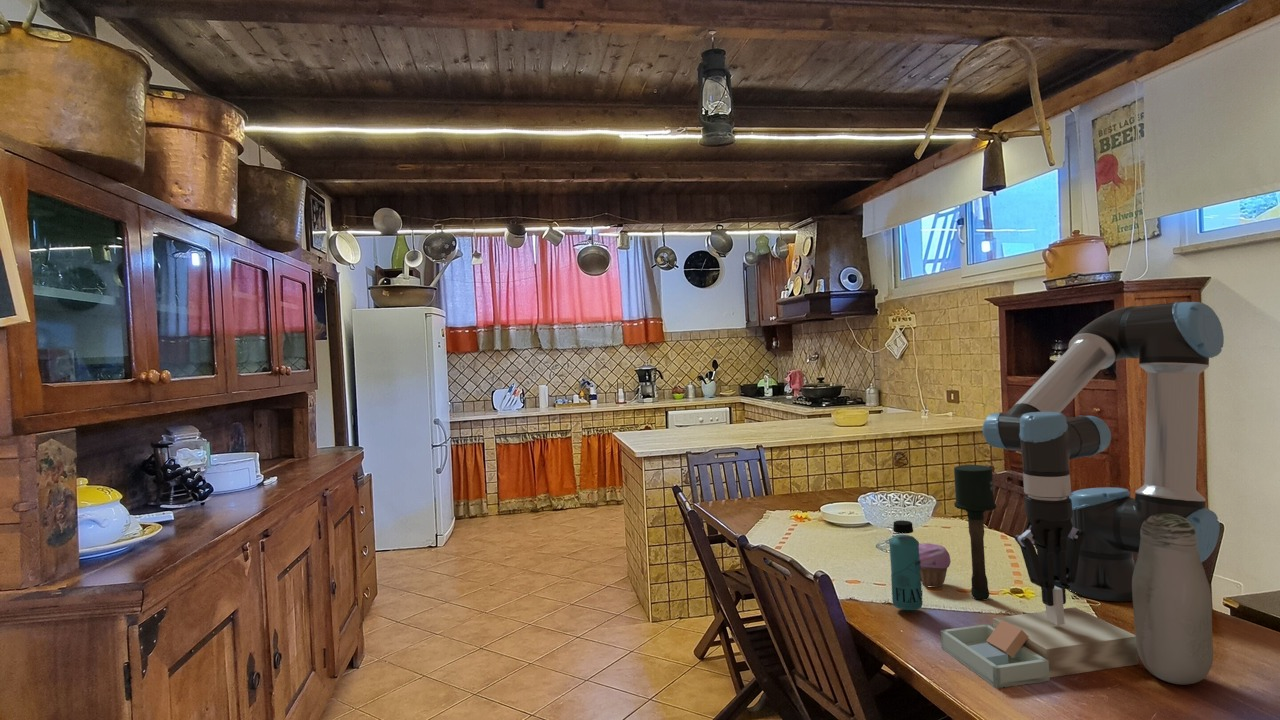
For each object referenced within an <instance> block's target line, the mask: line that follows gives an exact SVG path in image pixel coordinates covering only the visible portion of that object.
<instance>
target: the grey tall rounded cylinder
mask: <svg viewBox="0 0 1280 720" xmlns="http://www.w3.org/2000/svg"><path fill="white" fill-rule="evenodd" d="M1140 536H1141V540H1140V546H1139V553H1137V559H1136V560H1135V561H1136V562H1135V567H1134V572H1133V577H1132V598H1133V601H1132V607H1133V622H1134V633H1135V634H1134V635H1135V638H1136V646H1137V650H1138V657H1139V659H1140V661H1141V663H1142V664H1143V666H1144V667H1145V668H1146V670H1147V671H1148V672H1149V673H1150V674H1151V675H1153V676H1154V677H1156V678H1158V679H1160V680H1161V681H1164V682H1167V683H1170V684H1175V685H1183V686H1185V685H1191V684H1196V683H1199V682H1200V681H1201V682H1202V680H1204V678H1206V677H1207V676H1208V674H1209V673H1210V671H1211V669H1212V666H1213V661H1214V643H1213V642H1214V640H1213V609H1212V605H1213V604H1212V593H1211V587H1210V584H1209V580H1208V577H1207V575H1206V571H1205V569H1204V566H1203V562H1201V560H1200V556H1199V550H1198V543H1197V535H1196V532H1195V529H1194V527H1193V526H1192V524H1191V523H1190V522H1189V521H1188V520H1187V519H1185V518H1183V517H1181V516H1179V515H1176V514H1157V515H1153V516H1150V517H1148V518H1147V519H1146V520H1145V521H1144V522H1143V524H1142V526H1141V530H1140Z"/></svg>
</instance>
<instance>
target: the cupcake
mask: <svg viewBox="0 0 1280 720" xmlns="http://www.w3.org/2000/svg"><path fill="white" fill-rule="evenodd" d="M950 555H951V554H950V553H949V552H948V550H947V548H946V547H945V546H943V545H942V544H935V543H929V542H927V543H923V542H922V543H919V556H920V559H921V562H920V566H921V567H920V568H921V569H920V572H921V578H922V579H921V580H922V581H921V584H923V585H924V587H926V586H937V587H941V586H942V585H943V584H944V583H945V580H946V577H947V572H948V568H949V567H950V565H951V562H952V561H951V556H950Z"/></svg>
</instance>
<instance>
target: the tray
mask: <svg viewBox="0 0 1280 720" xmlns="http://www.w3.org/2000/svg"><path fill="white" fill-rule="evenodd" d="M994 630H995V628H993V626H992V625H990V624H988V623H987V624H986V623H985V624H977V625H971V626H963V627H957V628H955V627H954V628H949V629H948V628H947V629H941V630H940V646H941V649H942V651H943V650H944V651H945V652H946V653H947V654H949V655H950V656H951V657H952V658H954V659H955V660H957V661H958V662H960V663H961V664H962V665H964V666H965V667H967V668H968V669H969V670H971V671H972V672H974V674H976V675H977V676H979V677H980V678H982V680H984V681H985V682H987V683H988V684H990V685H991V686H992V687H994V688H995V689H998V688H999V689H1004V688H1003V687H1005V688H1010V686H1012V687H1018V685H1019V686H1025V685H1029V684H1038V683H1044V682H1050V681H1051V679H1050V678H1051V677H1049V661H1048V660H1046V659H1045V658H1043V657H1041V656H1040V655H1038V654H1036V653H1035V652H1033V651H1031V650H1030V649H1028V648H1026V647H1025V646H1023V645H1022V647H1021V648H1020V649H1019V651H1018V652H1017V653H1016V655H1015V656H1014V657H1013V659H1012V658H1011V657H1009V656H1008V664H1005V665H998V666H997V665H995V664H994V663H992V662H991V661H989V660H988V659H986V658H985V657H983V656H982V655H980V654H979V653H977V652H976V651H975V650H973V649H972V648H970V647H969V646H970V645H976V644H982V643H987V641H986V640H987V639H988V638H989V636H990V635H991V634H992V632H993V631H994Z"/></svg>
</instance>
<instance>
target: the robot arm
mask: <svg viewBox="0 0 1280 720" xmlns="http://www.w3.org/2000/svg"><path fill="white" fill-rule="evenodd" d="M1224 336H1225V335H1224V329H1223V326H1222V323H1221V320H1220V319H1219V316H1218V315H1217V313H1216V312H1215V310H1214V309H1213V308H1212V307H1210V306H1209V304H1206V303H1204V302H1200V301H1199V302H1198V301H1184V302H1183V301H1175V302H1169V303H1167V302H1166V303H1158V304H1157V303H1156V304H1148V305H1137V306H1134V305H1132V306H1125V307H1124V306H1123V307H1119V308H1116V309H1113V310H1111V311H1109V312H1107V313H1105V314H1102V315H1101V316H1099V317H1096V318H1095V319H1094V320H1092V321H1091V322H1089V323H1088V324H1086V325H1085V326H1084V327H1082V328H1081V329H1080V330H1079V331H1078V332H1077V333H1076V334H1075V335H1074V336H1073V337H1072V338H1071V339H1070V340H1069V342H1068V348H1067V350H1066V351H1065V352H1064V353H1063V354H1062V355H1061V356H1060V357H1059V358H1058V359H1057V360H1056V361H1055V363H1053V365H1051V367H1049V369H1048V370H1047V371H1046V372H1045V373H1044V374H1043V375H1042V376H1040V377H1039V379H1038V380H1037V381H1035V383H1034V384H1033V385H1032V386H1031V387H1030V388H1029V389H1028V390H1027V391H1026V392H1025V393H1023V395H1022V396H1021V397H1020V398H1019V400H1018V401H1016V402H1015V404H1014V405H1013V406H1011V408H1010V409H1009V410H1008V411H1007V412H993V413H991V414H989V415H987V417H986V418H985V419H984V422H983V425H982V434H983V438H984V440H985V442H986V443H987V444H988V445H989V446H991V447H993V448H997V449H1003V450H1008V451H1018V452H1019V451H1021V460H1022V461H1021V462H1022V480H1023V492H1024V494H1026V495H1025V496H1024V501H1023V502H1024V513H1025V516H1026V517H1027V523H1026V525H1025V531H1024V532H1023V533H1022V534H1015V536H1014V540H1015V542H1016V543H1017V544H1018V546H1019V548H1020V550H1021V553H1022V556H1023V561H1024V564H1025V568H1026V570H1027V575H1028V577H1029V581H1030V582H1031V583H1032V584H1034V585H1036V586H1038V587H1040V588H1041V601H1042V603H1043V604H1044V605H1045V611H1046V619H1047V620H1049V621H1051V622H1053V623H1055V624H1056V625H1061V624H1065V623H1064V609H1065V607H1064V605H1066V603H1067V594H1066V590H1068V589H1069V590H1068V591H1070V590H1071V591H1073V592H1076V593H1078V594H1080V595H1079V596H1081V595H1082V597H1083V598H1084V597H1085V598H1089V599H1093V600H1097V601H1098V600H1099V601H1105V602H1106V601H1107V602H1118V603H1119V602H1121V603H1122V602H1133V598H1132V577H1133V572H1134V567H1135V564H1136V562H1135V560H1134V553H1135V554H1138V553H1139V546H1140V540H1141V536H1140V530H1141V526H1142V524H1143V522H1144V521H1145V520H1146V519H1147V518H1148V517H1150V516H1153V515H1157V514H1176V515H1179V516H1181V517H1183V518H1185V519H1187V520H1188V521H1189V522H1190V523H1191V524H1192V526H1193V527H1194V529H1195V532H1196V535H1197V543H1198V550H1199V556H1200V560H1201V563H1203V562H1205V561H1206V560H1207V559H1208V558H1209V557H1210V556H1211V554H1212V553H1213V552H1214V550H1215V548H1216V546H1217V545H1218V540H1219V536H1220V521H1219V520H1218V519H1219V518H1218V515H1217V514H1216V513H1215V512H1214V511H1213V510H1211V509H1210V508H1207V507H1206V501H1207V500H1206V498H1205V497H1204V496H1203V495H1202V494H1201V493H1200V492H1199V491H1198V490H1197V476H1198V475H1197V472H1198V470H1197V469H1198V468H1197V467H1198V439H1199V437H1198V435H1199V434H1198V433H1199V431H1198V429H1199V398H1200V397H1199V393H1200V391H1199V389H1200V386H1199V385H1200V374H1201V373H1203V372H1204V371H1206V370H1207V369H1209V367H1210V359H1212V358H1214V357H1215V358H1216V357H1217V356H1219V355H1220V354H1221V353H1222V349H1223V347H1224V342H1225V340H1224V338H1225V337H1224ZM1126 359H1138V366H1139V367H1140V368H1141V369H1142V370H1144V371H1145V373H1146V375H1147V379H1146V384H1147V385H1146V415H1145V448H1144V449H1145V451H1144V452H1145V453H1144V483H1143V485H1142V486H1141V487H1139V488H1138V489H1136V490H1135V492H1134V497H1131V496H1132V494H1131V493H1130V490H1129V489H1128V488H1124V487H1113V486H1111V487H1107V486H1106V487H1091V488H1082V489H1077V490H1074V491H1072V486H1071V483H1072V482H1071V473H1070V472H1071V471H1070V460H1073V459H1074V460H1075V459H1079V458H1084V457H1092V456H1095V455H1096V454H1099V453H1102V452H1104V451H1106V449H1108V448H1109V446H1110V444H1111V441H1112V433H1111V430H1110V427H1109V425H1108V424H1107V423H1106V422H1105V421H1104V420H1103V419H1102V418H1099V417H1098V416H1094V415H1077V416H1075V417H1074V416H1071V417H1069V416H1066V415H1065V414H1064V413H1062V411H1064V409H1065V408H1066V407H1067V406H1068V405H1069V404H1070V403H1071V402H1072V401H1073V400H1074V399H1075V397H1076V396H1077V395H1078V394H1080V392H1081V391H1082V390H1083V389H1084V388H1085V387H1086V385H1088V383H1090V382H1091V380H1092V379H1093V378H1094V377H1095V376H1096V375H1097V374H1098V373H1099V371H1101V370H1104V369H1108V368H1110V367H1111V366H1112V365H1113V364H1114V363H1115V362H1116V361H1121V360H1126ZM1071 591H1070V592H1071ZM1073 592H1072V593H1073ZM1076 593H1075V594H1076ZM1078 594H1077V595H1078Z"/></svg>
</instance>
